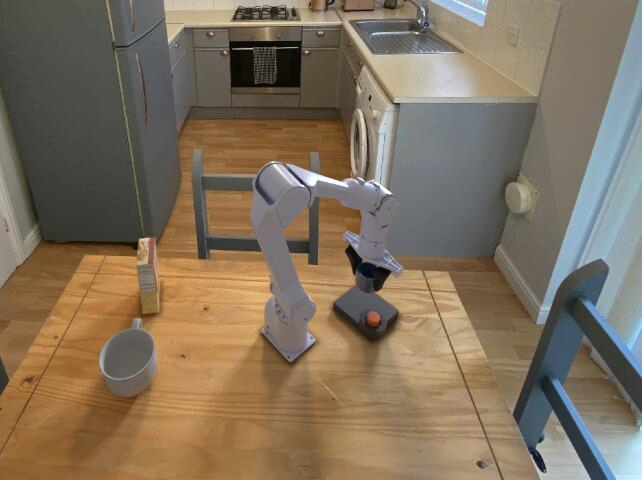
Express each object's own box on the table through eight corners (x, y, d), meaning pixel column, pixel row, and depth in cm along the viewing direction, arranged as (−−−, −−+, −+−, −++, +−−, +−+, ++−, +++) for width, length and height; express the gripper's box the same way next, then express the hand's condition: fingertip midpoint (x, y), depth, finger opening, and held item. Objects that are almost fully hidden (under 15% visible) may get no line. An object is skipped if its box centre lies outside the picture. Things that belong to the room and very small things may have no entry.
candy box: (144, 285, 107) (137, 238, 101) (161, 283, 107) (155, 236, 101) (142, 315, 99) (135, 265, 93) (160, 312, 99) (154, 263, 93)
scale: (330, 309, 99) (331, 299, 98) (359, 286, 105) (360, 276, 104) (374, 348, 90) (376, 336, 89) (403, 320, 96) (405, 309, 95)
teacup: (146, 411, 79) (141, 384, 76) (93, 400, 81) (87, 372, 78) (171, 344, 92) (168, 318, 89) (125, 335, 94) (121, 310, 91)
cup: (349, 283, 98) (351, 269, 96) (364, 272, 101) (366, 257, 99) (369, 298, 94) (371, 283, 92) (383, 286, 97) (386, 271, 95)
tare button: (363, 320, 93) (364, 315, 92) (371, 313, 94) (372, 308, 94) (374, 329, 91) (375, 324, 90) (382, 322, 92) (383, 317, 92)
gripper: (414, 244, 88) (405, 292, 94) (357, 210, 99) (353, 254, 104) (394, 260, 84) (386, 308, 90) (338, 222, 95) (334, 268, 100)
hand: (367, 280), depth 97 cm, fingers closed on cup, 5 cm apart
